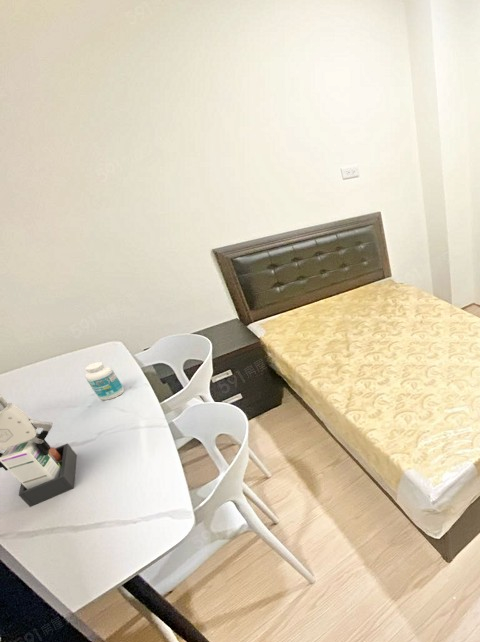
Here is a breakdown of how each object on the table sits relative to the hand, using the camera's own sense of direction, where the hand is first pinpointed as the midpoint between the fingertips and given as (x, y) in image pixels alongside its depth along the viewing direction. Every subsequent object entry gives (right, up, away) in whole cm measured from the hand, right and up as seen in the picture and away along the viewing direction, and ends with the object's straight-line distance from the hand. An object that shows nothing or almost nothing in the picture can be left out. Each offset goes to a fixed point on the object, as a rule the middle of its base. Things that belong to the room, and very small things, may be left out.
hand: (28, 459), depth 107 cm
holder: (-2, -9, +9) cm, 13 cm away
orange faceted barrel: (-5, -7, +11) cm, 14 cm away
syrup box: (0, -9, +5) cm, 10 cm away
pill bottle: (-20, +10, +44) cm, 49 cm away
